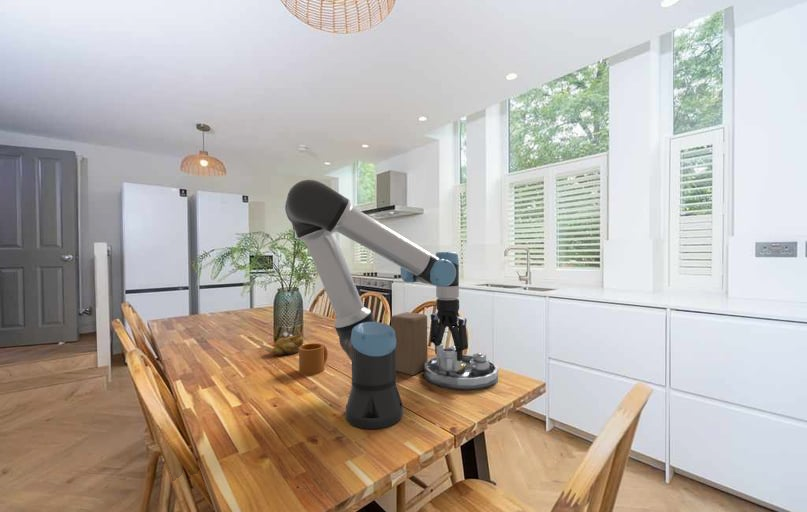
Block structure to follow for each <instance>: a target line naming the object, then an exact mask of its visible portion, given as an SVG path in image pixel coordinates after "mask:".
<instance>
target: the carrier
mask: <svg viewBox="0 0 807 512" xmlns="http://www.w3.org/2000/svg"><path fill="white" fill-rule="evenodd" d="M447 348H453V349H455V350H456V348H455V345H454V346H449V347H447ZM423 371H424V372H423V374H424V378H425V380H426V381H428V383H430V384H431V385H435V386H437V387H439V388H442V389H447V390H453V391H480V390H484V389H488V388H490V387H492V386H495V384H497V383H498V381H499V367H498V365H497V364H496V362H494V361H491V360H490V359H488V358H487V355H486V354H484V353H481V352H477V353H473V354H472V355H470V354H463V359H462V360H461V370H458V371H454V372H453V371H447V372H446V371H444V370H440V369H439V367H438V365H437V357H436V356H433V357H431V358H428V360H427V361H426V362H425V369H424V370H423Z"/></svg>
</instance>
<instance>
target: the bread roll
mask: <svg viewBox="0 0 807 512" xmlns="http://www.w3.org/2000/svg"><path fill="white" fill-rule="evenodd" d="M274 344H275V345H274V347H273V348H272V350H271V353H272V355H273V356H277V357H278V356H279V357H280V356H284V355H294V354H297V353H298V354H299V347H300V346H302V345H304V337H303V334H296V335H294V336H292V335H291V336H287V337H281V338H278V339H276V341H275V343H274Z"/></svg>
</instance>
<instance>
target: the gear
mask: <svg viewBox="0 0 807 512" xmlns="http://www.w3.org/2000/svg"><path fill="white" fill-rule="evenodd" d="M454 351H455V349H453V348H448V347H443V349H442V354H439V355H438V367H439V369H440V370H444V371H446V372H447V371H453V372H454Z"/></svg>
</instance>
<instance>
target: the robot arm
mask: <svg viewBox="0 0 807 512" xmlns="http://www.w3.org/2000/svg"><path fill="white" fill-rule="evenodd" d="M284 208H285V209H284V210H285V215H286V217H287V219H288V220H289V221H290V223H291V224H292V226H293V227H292V228H293V229H294V232H295V234H296V237H297V239H298V240H299V241H302V242H304V243H305V244H306V247H307V249H308V251H309V253H310V256H311V258H312V261H313V264H314V267H315V268H316V271H317V274H318V276H319V278H320V280H321V282H322V286H323V288H324V290H325V293H326V295H327V298H328V300H329V302H330V305H331V308H332V309H333V312H334V315H335V317H336V320H335V322H334V324H333V326H334V328H335V331H336V333H337V336H338V337H339V338H338V340H339V344H340V347H341V349H342V350H343V351H344V352H345V354H346V355H347V357H348V358H349V359H350V362H351V390H350V393H349V396H348V399H347V403H346V405H345V420H346V421H347V423H349V424H350V425H351V426H353V427H356V428H359V429H366V430H377V429H384V428H388V427H390V426H391V427H392V426H393V425H395V424H397V423H398V422H400V420H401V419H402V418H403V416H404V405H403V402H402V398H401V395H400V393H399V389H398V386H397V371H396V337H395V331H394V329H393V328H392V327H391V324H387V323H385V322H384V323H382V322H379V321H376V320H375V318H374V315H373V312H372V311H371V309H370V308H368V307H365V306H364V304H363V301H362V298H361V296H360V294H359V291H358V289H357V286H356V284H355V281H354V279H353V276H352V274H351V271H350V268H349V266H348V264H347V261H346V258H345V256H344V253H343V251H342V248H341V245H340V244H339V241H338V239H337V235H336V233H335V232H337V233H339V234H341V235H343V236H345V237H346V238H348V239H349V240H351V241H354V242H355V243H357V244H359V245H360V246H362V247H363V248H365V249H367V250H369V251H371V252H373V253H375V254H377V255H379V256H380V257H382V258H384V259H386V260H388V261H389V262H391V263H393V264H394V265H397V266H398V267H400V276H401V279H402V281H403V282H405V283H411V284H414V283H421V284H427V285H431V286H435V289H436V290H435V297H436V301H435V302H436V303H435V305H436V310H437V312H436V313H431V314H430V320H431V322H430V336H429V337H430V339H429V342H430V343H432V344H434V352H435V353H434V354H435V355H436V356H435V357H437V365H438V355H439V354H442V349H444V344H443V339H444V335H445V333H446V332H445V331H446V328H447V327H448V330H449V331H450V334H451V338H452V341H453V344H454V346H455V348H456V350H455V351H454V371H458V370H461V360H462V359H463V351H465V350H467V349H469V344H468V343H469V342H468V337H467V336H468V335H467V333H468V332H467V322H468V321H467V320H468V319H467V318H465V317H464V318H462V317H460V315H459V311H460V299H459V297H460V288H459V287H460V282H459V281H460V277H459V273H460V272H459V271H460V269H459V267H460V262H459V254H458V253H457V252H455V251H437V252H436V253H435V255H434V254H432V253H431V252H429V251H428V250H425V249H424V248H423V247H421V246H419V245H417V244H416V243H414V242H412V241H411V240H410V239H408V238H406V237H404V236H403V235H401V234H399V233H398V232H396V231H394V230H393V229H391V228H390V227H388V226H387V225H384V224H383V223H381V222H379V221H377V220H376V219H374V218H373V217H372V216H369V215H367V214H366V213H364V212H363V211H362V210H359V209H358V208H356V207H354V206H352V203H351V200H350V199H349V198H347V197H345V196H344V195H342V194H341V193H339V192H337V191H336V190H334V189H333V188H331V187H329V186H328V185H326V184H324V183H322V182H320V181H319V180H318V181H317V180H313V179H303V180H301V181H298V182H296V183H295V184H294V185H293V186H291V188H290V189H289V191H288V193H287V196H286V201H285V207H284Z"/></svg>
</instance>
